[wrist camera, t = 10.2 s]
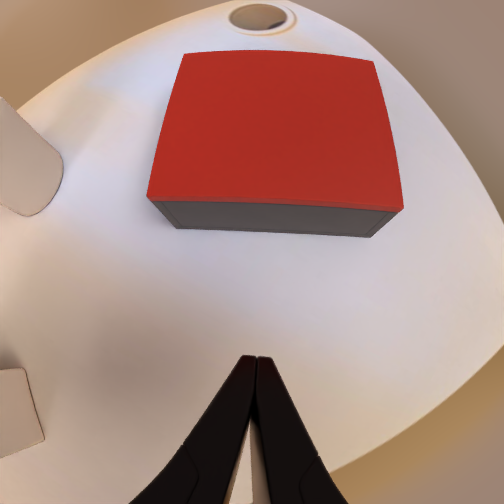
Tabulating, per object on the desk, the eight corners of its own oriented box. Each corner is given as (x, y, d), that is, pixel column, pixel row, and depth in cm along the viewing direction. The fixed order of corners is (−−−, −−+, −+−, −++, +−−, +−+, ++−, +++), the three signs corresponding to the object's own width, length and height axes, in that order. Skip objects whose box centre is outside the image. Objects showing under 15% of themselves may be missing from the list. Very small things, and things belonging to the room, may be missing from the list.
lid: (185, 60, 21) (183, 53, 20) (371, 67, 20) (373, 61, 19) (150, 201, 18) (145, 196, 17) (399, 212, 17) (404, 208, 16)
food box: (196, 107, 26) (184, 66, 21) (357, 113, 25) (372, 73, 20) (176, 228, 23) (150, 201, 18) (370, 237, 22) (398, 213, 17)
